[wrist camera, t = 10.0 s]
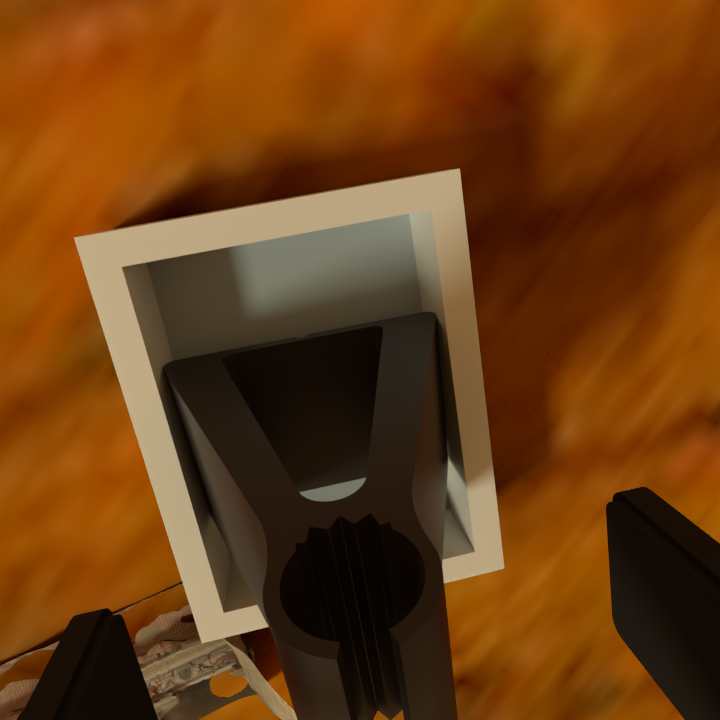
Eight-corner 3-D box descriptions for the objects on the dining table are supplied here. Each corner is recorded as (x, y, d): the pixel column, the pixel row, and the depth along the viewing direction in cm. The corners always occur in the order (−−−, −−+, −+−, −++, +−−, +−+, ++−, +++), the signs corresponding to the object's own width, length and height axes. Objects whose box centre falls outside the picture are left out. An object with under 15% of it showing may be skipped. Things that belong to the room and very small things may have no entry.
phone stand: (209, 505, 21) (167, 931, 10) (164, 360, 18) (44, 730, 8) (444, 455, 22) (629, 798, 11) (433, 309, 19) (660, 578, 9)
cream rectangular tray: (424, 173, 20) (459, 168, 17) (468, 510, 25) (504, 568, 21) (112, 228, 19) (73, 237, 16) (213, 571, 24) (201, 643, 20)
